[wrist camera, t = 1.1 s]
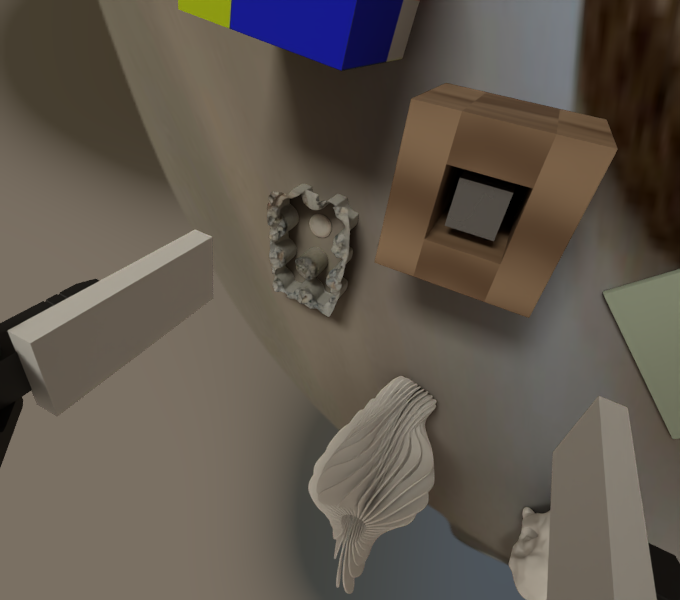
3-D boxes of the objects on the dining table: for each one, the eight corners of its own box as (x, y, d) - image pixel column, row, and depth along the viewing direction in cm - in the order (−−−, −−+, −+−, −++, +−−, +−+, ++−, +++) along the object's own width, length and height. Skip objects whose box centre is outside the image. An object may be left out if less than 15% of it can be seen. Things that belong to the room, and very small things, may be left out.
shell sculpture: (392, 347, 41) (304, 507, 28) (463, 397, 41) (409, 586, 27) (356, 391, 47) (266, 543, 33) (418, 435, 46) (354, 610, 32)
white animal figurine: (499, 599, 40) (568, 532, 33) (506, 521, 47) (564, 454, 40) (567, 638, 38) (653, 577, 32) (564, 553, 45) (633, 488, 39)
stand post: (480, 149, 29) (459, 177, 24) (524, 161, 28) (513, 193, 23) (466, 191, 31) (444, 225, 26) (507, 203, 30) (493, 241, 25)
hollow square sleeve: (445, 82, 28) (411, 98, 22) (606, 119, 25) (617, 149, 19) (409, 219, 34) (374, 262, 28) (537, 261, 31) (528, 317, 25)
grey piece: (291, 173, 37) (265, 186, 34) (370, 201, 35) (351, 218, 32) (280, 274, 43) (257, 293, 40) (346, 302, 41) (328, 325, 38)
